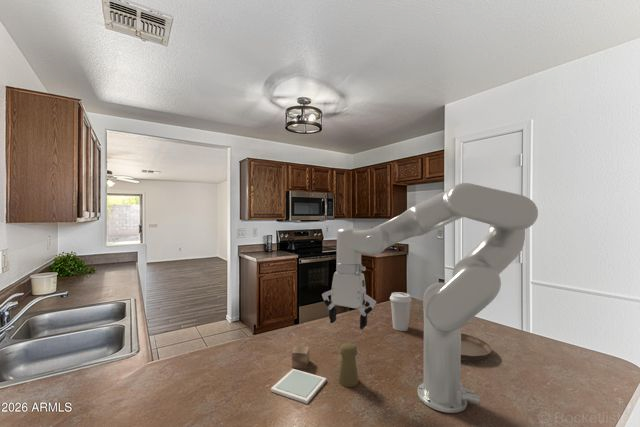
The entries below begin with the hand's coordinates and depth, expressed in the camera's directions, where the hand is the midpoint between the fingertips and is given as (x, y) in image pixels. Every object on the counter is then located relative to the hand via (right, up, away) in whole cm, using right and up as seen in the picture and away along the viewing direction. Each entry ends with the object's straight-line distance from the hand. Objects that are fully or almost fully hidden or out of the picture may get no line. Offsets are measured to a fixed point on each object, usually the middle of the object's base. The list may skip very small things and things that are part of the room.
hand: (347, 324), depth 88 cm
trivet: (-15, -17, -3) cm, 23 cm away
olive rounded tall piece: (0, -17, 0) cm, 17 cm away
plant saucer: (+44, -18, +20) cm, 52 cm away
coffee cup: (+28, -18, +41) cm, 52 cm away
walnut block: (-15, -17, +10) cm, 25 cm away
